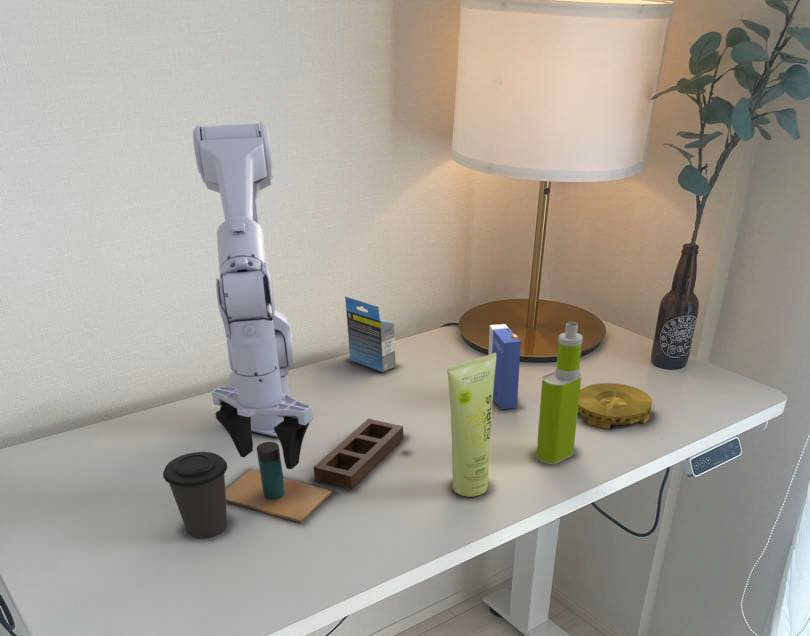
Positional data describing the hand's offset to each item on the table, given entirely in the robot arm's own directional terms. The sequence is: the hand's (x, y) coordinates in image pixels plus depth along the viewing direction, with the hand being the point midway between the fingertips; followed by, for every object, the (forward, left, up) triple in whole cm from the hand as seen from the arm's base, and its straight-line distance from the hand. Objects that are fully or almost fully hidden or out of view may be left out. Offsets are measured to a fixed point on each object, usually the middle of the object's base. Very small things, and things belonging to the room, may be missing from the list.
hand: (269, 459), depth 109 cm
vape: (+32, +27, -6) cm, 42 cm away
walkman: (+18, +41, -6) cm, 45 cm away
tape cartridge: (-9, +45, -6) cm, 46 cm away
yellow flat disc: (+36, +44, -6) cm, 57 cm away
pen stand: (+6, +14, -6) cm, 16 cm away
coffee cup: (-4, -10, -6) cm, 12 cm away
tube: (+24, +13, -6) cm, 28 cm away
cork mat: (0, 0, -6) cm, 6 cm away
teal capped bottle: (0, 0, -6) cm, 6 cm away
